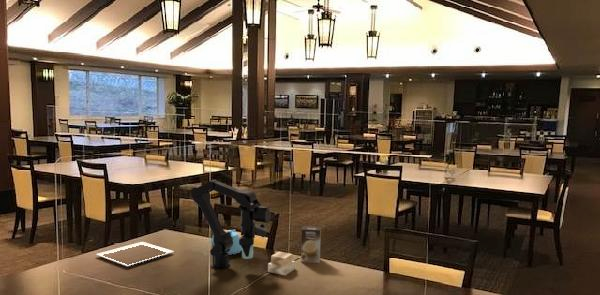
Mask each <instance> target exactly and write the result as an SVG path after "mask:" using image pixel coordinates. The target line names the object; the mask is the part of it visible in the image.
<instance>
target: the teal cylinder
mask: <svg viewBox="0 0 600 295" xmlns="http://www.w3.org/2000/svg"><path fill="white" fill-rule="evenodd" d="M241 258H242V259H245V260H248V259H253V258H254V244H253V245H251V246H250V251H249V256H248V257H246V255H245V253H244V251H243V249H242V251H241Z"/></svg>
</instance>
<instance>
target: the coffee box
mask: <svg viewBox="0 0 600 295" xmlns="http://www.w3.org/2000/svg"><path fill="white" fill-rule="evenodd" d="M321 233H322V227H321V226H308V225H302V227H301V248H300V250H301V251H300V253H301V254H300V263H307V264H308V263H309V264H310V263H313V264H320V262H321V236H322V234H321Z"/></svg>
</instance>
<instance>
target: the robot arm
mask: <svg viewBox="0 0 600 295" xmlns="http://www.w3.org/2000/svg"><path fill="white" fill-rule="evenodd" d="M213 191H214V192H217V193H219V194H222V195H224V196H226V197H229V198H231V199H233V200H234V201H235V202H236V203H238V204H239V206H237V208H236V210H238V211H240V239H239V245H241V247H242V249H243V251H244V253H245V255H246V257H248V256H249V251H250V246H251V245H253V246H254V243H255V237H256V236H259V237H261V238H265V236H266V234H267V231H268V229H267V227H266V226H265V224H266V223H267V224H268V223H269V222H270V221H271V218H272V213H271V210H270V209H269V206H262V205H261V203H260V201H259V200H258V198H257V195H256V193H255V192H254V191H252V190H246V189H238V188H235V187H233V186H231V185H228V184H226V183H224V182H220V181H219V180H217V179H212V180H209V181H208V182H206V183H204V184H202V185H198V186H195V187H193V188H192V189H191V190H190V196H191V199H192V200H193V202H194V203H195V204H196V205H197V206H199V207H200V209H201V212H202V213H203V215H204V217H205V220H206V222H207V224H208V227H209V229H210V230H211V233H212V236H213V235H214V238H213V242H214V245H215V246H214V245H213V247H212V248H211V249H210V250H209V252H210V255H211V256H212V265H210V267H211V268H214V269H220V270H224V269H225V268H227V267H229V266H231V264H230V262H229V259H230V258H229V255H228V253H227V252H228V251H230V248H231V247H232V246H233V238H232V237H231V234H230V232H227V231H226V230H224V228H223V226H222V224H221V222H220V220H219V218H218V216H217V213H216V212H215V209H214V207H213V205H212V203H211V193H212V192H213ZM257 222H258V223H260V224H256V223H257ZM264 223H265V224H264Z"/></svg>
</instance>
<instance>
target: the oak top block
mask: <svg viewBox="0 0 600 295" xmlns="http://www.w3.org/2000/svg"><path fill="white" fill-rule="evenodd" d="M292 261H293V254H292V253H290V252H283V251H277V252H276V253H273V254H272V255H271V256H270V262H271V264H275V265H281V266H286V265H288V264H289V263H291V262H292Z"/></svg>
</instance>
